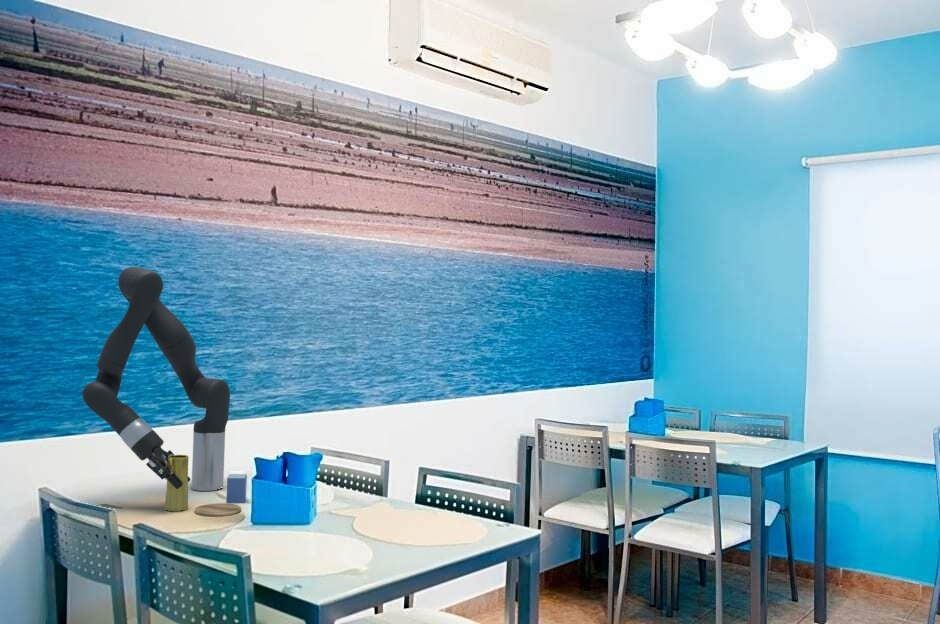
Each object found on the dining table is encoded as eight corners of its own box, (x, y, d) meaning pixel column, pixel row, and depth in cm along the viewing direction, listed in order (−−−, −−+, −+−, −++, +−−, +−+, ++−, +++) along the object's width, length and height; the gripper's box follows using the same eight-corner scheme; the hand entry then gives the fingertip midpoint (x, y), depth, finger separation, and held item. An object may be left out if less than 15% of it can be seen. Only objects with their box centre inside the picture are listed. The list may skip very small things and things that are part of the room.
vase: (180, 512, 227) (182, 458, 227) (159, 510, 228) (161, 457, 228) (192, 507, 233) (194, 455, 233) (172, 505, 234) (174, 453, 234)
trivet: (202, 505, 236) (202, 502, 236) (246, 507, 236) (246, 503, 236) (188, 515, 224) (188, 512, 224) (234, 517, 224) (234, 513, 224)
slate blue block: (228, 499, 245) (229, 470, 245) (246, 499, 246) (247, 470, 246) (226, 503, 240) (227, 474, 240) (244, 503, 241) (245, 474, 241)
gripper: (141, 432, 224) (185, 480, 224) (161, 426, 238) (202, 470, 238) (120, 452, 223) (164, 499, 223) (141, 444, 238) (182, 488, 238)
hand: (184, 484), depth 231 cm, fingers closed on vase, 5 cm apart
